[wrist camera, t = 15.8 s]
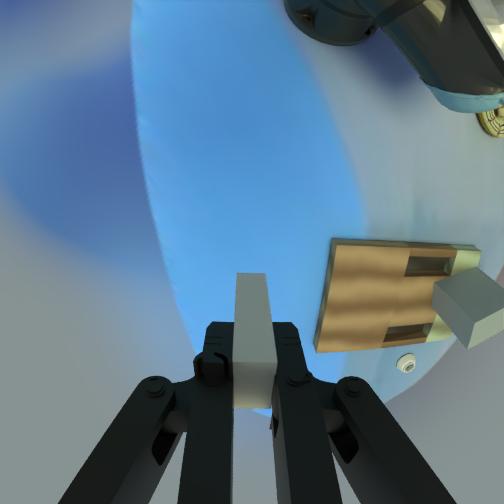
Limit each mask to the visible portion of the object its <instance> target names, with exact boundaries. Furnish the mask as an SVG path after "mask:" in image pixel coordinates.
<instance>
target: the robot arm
mask: <svg viewBox="0 0 504 504" xmlns="http://www.w3.org/2000/svg"><path fill="white" fill-rule="evenodd" d="M423 1H424V2H423ZM284 3H285V8H286V11H287V13H288V15H289V17H290V19H291V20H292V21H293V23H294V24H295V25H296V26H297V27H298V28H299V29H300V30H301V31H303V32H304V33H305V34H307V35H308V36H310V37H312V38H314V39H316V40H318V41H320V42H323V43H326V44H330V45H335V46H351V45H355V44H359V43H361V42H363V41H364V40H366V39H367V38H369V37H370V36H371V35H373V34H374V32H375V31H376V30H377V28H378V26H380V27H381V29H382V30H383V31H384V32H385V33H386V34H387V35H388V37H389V38H390V39H391V40H392V41H393V42H394V44H395V45H396V46H397V47H398V48H399V50H400V51H401V52H402V53H403V54H404V56H405V57H406V58H407V59H408V61H409V62H410V63H411V65H412V66H413V67H414V69H415V70H416V71H417V73H418V74H419V75H420V79H421V81H422V82H423V83H424V84H425V85H426V86H427V87H428V88H429V89H430V90H431V92H432V93H433V95H434V96H435V97H436V99H437V100H438V101H439V102H440V103H441V104H442V105H443V106H445V107H447V108H448V109H450V110H453V111H456V112H461V113H480V112H486V111H491V110H494V109H497V108H498V107H499V105H504V0H284ZM411 8H412V9H411ZM408 10H409V11H408ZM403 13H404V14H403ZM400 15H401V16H400ZM398 16H399V17H398ZM395 18H396V19H395ZM392 20H393V21H392ZM389 22H390V23H389ZM193 364H194V372H195V376H194V377H193V378H191V379H189V380H186V381H182V382H177V383H171V381H170V380H169V379H167V378H165V377H162V376H151V377H147V378H145V379H143V380H142V381H141V382H140V383H139V384H138V386H137V387H136V389H135V390H134V391H133V393H132V394H131V396H130V397H129V399H128V400H127V401H126V403H125V404H124V406H123V407H122V409H121V410H120V412H119V413H118V414H117V416H116V418H115V419H114V420H113V422H112V423H111V425H110V426H109V428H108V429H107V431H106V432H105V433H104V435H103V436H102V438H101V440H100V441H99V442H98V444H97V445H96V447H95V448H94V450H93V451H92V453H91V454H90V456H89V457H88V459H87V460H86V462H85V463H84V465H83V466H82V468H81V469H80V471H79V472H78V474H77V475H76V477H75V478H74V480H73V481H72V483H71V484H70V486H69V487H68V489H67V490H66V492H65V493H64V495H63V497H62V498H61V500H60V501H59V503H58V504H148V503H149V502H150V500H151V497H152V495H153V493H154V491H155V489H156V487H157V485H158V483H159V481H160V479H161V477H162V475H163V473H164V471H165V469H166V467H167V465H168V463H169V461H170V459H171V457H172V455H173V453H174V451H175V449H176V447H177V445H178V442H179V440H180V438H181V436H182V434H183V432H187V434H186V441H185V448H184V455H183V463H182V470H181V477H180V485H179V493H178V502H177V504H232V485H233V484H232V482H233V423H234V420H233V419H234V417H233V411H234V408H245V409H267V408H271V404H272V418H271V424H270V429H272V435H273V448H274V461H275V473H276V487H277V500H278V504H343V503H342V498H341V493H340V488H339V484H338V479H337V474H336V469H335V465H334V460H333V456H332V453H333V454H334V456H335V458H336V460H337V462H338V464H339V466H340V467H341V469H342V471H343V473H344V475H345V476H346V478H347V480H348V482H349V484H350V485H351V487H352V489H353V491H354V493H355V494H356V496H357V498H358V500H359V501H360V503H361V504H457V503H456V502H455V501H454V499H453V498H452V496H451V495H450V494H449V492H448V491H447V489H446V488H445V487H444V485H443V484H442V482H441V481H440V480H439V478H438V477H437V476H436V474H435V473H434V471H433V470H432V469H431V467H430V466H429V465H428V463H427V462H426V461H425V459H424V458H423V457H422V455H421V454H420V452H419V451H418V450H417V448H416V447H415V446H414V444H413V443H412V442H411V440H410V439H409V437H408V436H407V435H406V433H405V432H404V431H403V429H402V428H401V427H400V425H399V424H398V423H397V421H396V420H395V419H394V417H393V416H392V415H391V413H390V412H389V411H388V409H387V408H386V407H385V405H384V404H383V403H382V401H381V400H380V399H379V397H378V396H377V395H376V393H375V392H374V391H373V389H372V388H371V387H370V385H369V384H368V383H367V382H366V381H365V380H363V379H361V378H359V377H354V376H349V377H344V378H342V379H340V380H339V381H338V383H337V384H336V383H330V382H325V381H321V380H319V379H316V378H315V377H313V375H312V373H311V372H309V371H308V369H307V365H306V361H305V357H304V353H303V349H302V345H301V341H300V337H299V333H298V329H297V328H296V327H295V326H294V324H293V323H292V322H272V318H271V310H270V303H269V296H268V289H267V281H266V274H264V273H237V279H236V297H235V317H234V322H213V321H212V323H211V324H210V325H209V326H208V327H207V329H206V335H205V340H204V346H203V352H201V353H199V354H198V355H197V356H196V357H195V359H194V361H193Z"/></svg>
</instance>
